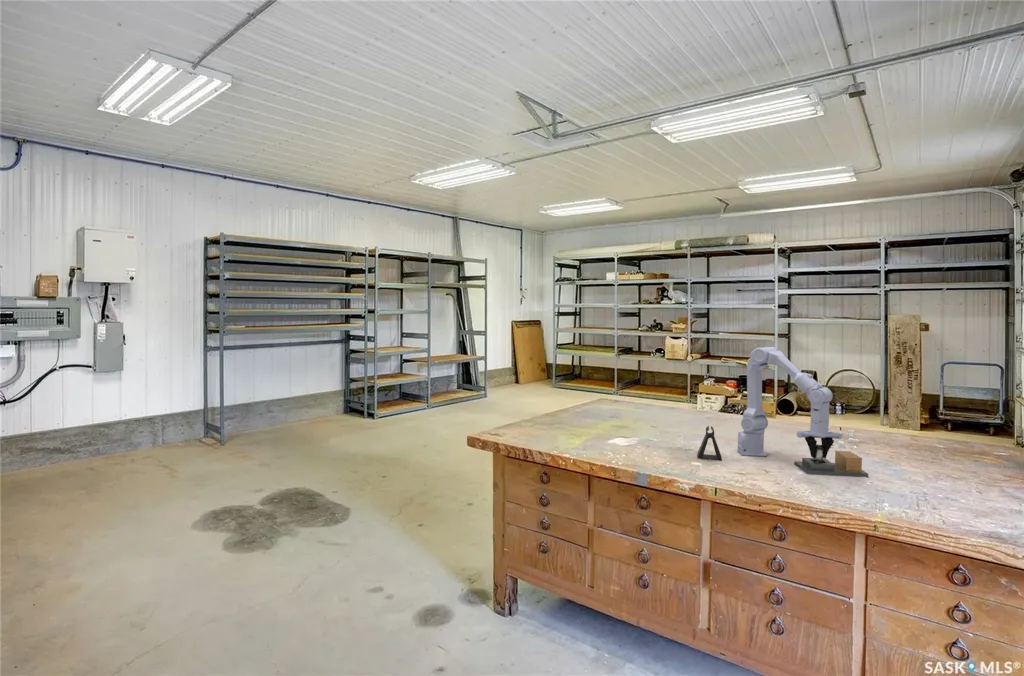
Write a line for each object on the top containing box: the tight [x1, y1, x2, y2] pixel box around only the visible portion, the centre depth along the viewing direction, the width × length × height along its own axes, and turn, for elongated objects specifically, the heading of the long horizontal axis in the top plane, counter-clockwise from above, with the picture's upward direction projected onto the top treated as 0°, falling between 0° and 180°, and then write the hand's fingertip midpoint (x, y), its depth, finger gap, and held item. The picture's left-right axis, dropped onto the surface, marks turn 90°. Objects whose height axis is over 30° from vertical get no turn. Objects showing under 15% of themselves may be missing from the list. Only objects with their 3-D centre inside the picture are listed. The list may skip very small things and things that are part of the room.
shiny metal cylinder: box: [814, 443, 824, 463], centre depth 191 cm, size 3×3×7 cm
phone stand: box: [696, 425, 723, 461], centre depth 207 cm, size 9×6×12 cm, turn 71°
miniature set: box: [828, 424, 860, 449], centre depth 235 cm, size 6×35×12 cm
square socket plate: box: [793, 450, 869, 478], centre depth 191 cm, size 20×12×6 cm, turn 81°
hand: (818, 457), depth 192 cm, fingers closed on shiny metal cylinder, 3 cm apart
